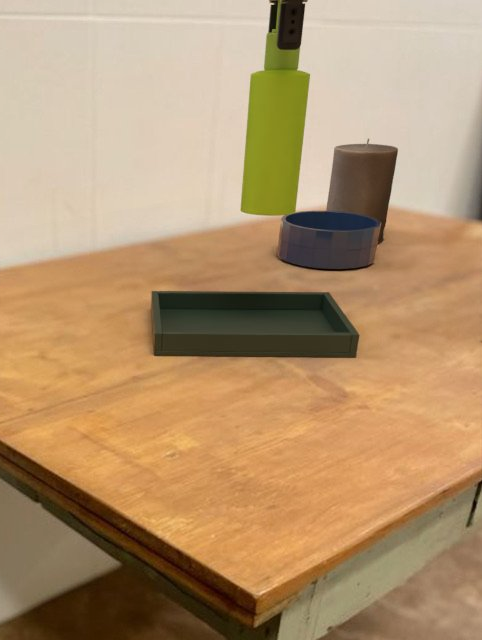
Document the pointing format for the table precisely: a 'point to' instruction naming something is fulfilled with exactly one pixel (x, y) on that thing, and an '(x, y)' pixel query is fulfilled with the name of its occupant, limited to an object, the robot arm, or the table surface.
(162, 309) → the tray
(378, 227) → the bowl
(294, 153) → the soap dispenser
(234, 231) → the table surface
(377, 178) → the pillar candle
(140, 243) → the table surface
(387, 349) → the table surface
